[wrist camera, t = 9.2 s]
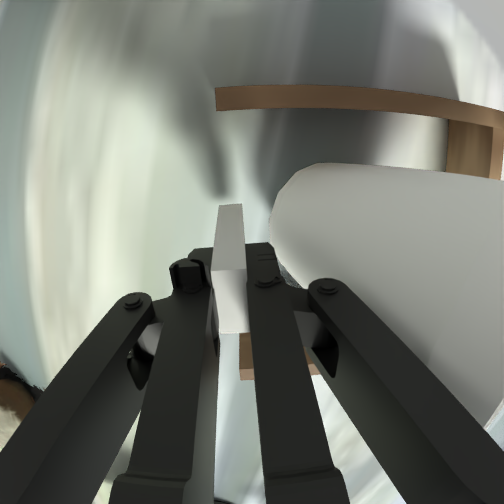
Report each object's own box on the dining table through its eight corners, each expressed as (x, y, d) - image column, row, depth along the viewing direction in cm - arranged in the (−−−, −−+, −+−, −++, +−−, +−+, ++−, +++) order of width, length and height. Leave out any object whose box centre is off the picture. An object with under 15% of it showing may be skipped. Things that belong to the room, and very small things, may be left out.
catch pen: (429, 314, 23) (454, 350, 19) (240, 334, 23) (240, 380, 19) (460, 105, 16) (505, 112, 12) (221, 92, 16) (215, 87, 12)
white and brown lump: (61, 448, 30) (-4, 466, 22) (30, 382, 35) (-31, 392, 26) (76, 416, 26) (-11, 438, 17) (40, 335, 30) (-39, 344, 22)
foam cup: (266, 323, 19) (435, 487, 8) (214, 173, 14) (536, 333, 3) (380, 249, 21) (543, 340, 11) (364, 116, 17) (593, 168, 6)
